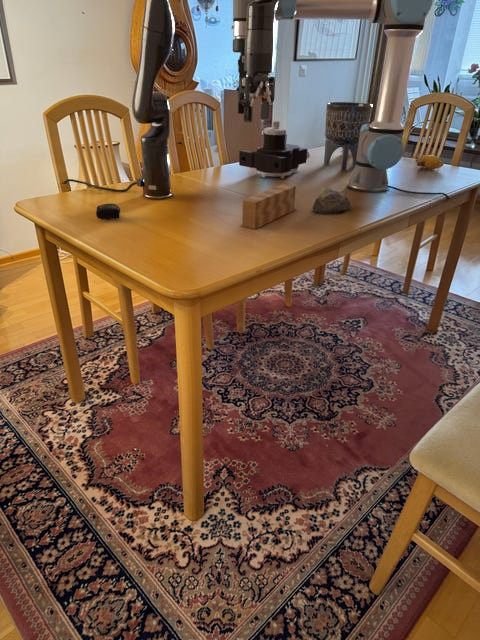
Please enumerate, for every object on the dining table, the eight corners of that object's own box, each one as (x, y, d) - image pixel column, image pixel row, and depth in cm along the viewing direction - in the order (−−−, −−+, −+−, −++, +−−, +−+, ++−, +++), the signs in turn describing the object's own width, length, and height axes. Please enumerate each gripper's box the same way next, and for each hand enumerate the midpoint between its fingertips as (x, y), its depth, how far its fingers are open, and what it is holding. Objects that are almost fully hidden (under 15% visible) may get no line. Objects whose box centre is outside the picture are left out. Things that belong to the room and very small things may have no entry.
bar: (281, 207, 152) (283, 183, 148) (293, 210, 150) (295, 185, 146) (242, 226, 135) (242, 199, 131) (255, 229, 132) (256, 202, 129)
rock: (335, 203, 156) (338, 184, 153) (355, 209, 151) (359, 189, 148) (309, 210, 149) (311, 190, 145) (329, 217, 143) (332, 196, 140)
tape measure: (96, 222, 135) (94, 209, 133) (99, 215, 140) (97, 203, 139) (120, 221, 136) (118, 209, 134) (121, 214, 141) (120, 202, 139)
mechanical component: (240, 120, 182) (283, 115, 202) (239, 174, 192) (280, 164, 212) (283, 126, 170) (325, 120, 190) (280, 183, 180) (320, 171, 200)
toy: (418, 162, 205) (412, 155, 217) (420, 176, 207) (414, 168, 220) (444, 154, 201) (436, 147, 214) (446, 168, 204) (438, 161, 217)
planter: (313, 167, 208) (319, 103, 195) (331, 160, 222) (338, 101, 209) (353, 173, 199) (362, 107, 185) (369, 166, 213) (379, 104, 199)
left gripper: (261, 51, 122) (258, 116, 130) (231, 50, 112) (230, 121, 120) (285, 52, 119) (281, 119, 127) (257, 51, 108) (254, 124, 117)
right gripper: (234, 39, 155) (233, 107, 165) (230, 36, 133) (229, 115, 144) (256, 39, 154) (254, 108, 165) (256, 37, 133) (253, 115, 144)
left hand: (256, 120), depth 124 cm, fingers open, 8 cm apart
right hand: (242, 111), depth 154 cm, fingers open, 13 cm apart
